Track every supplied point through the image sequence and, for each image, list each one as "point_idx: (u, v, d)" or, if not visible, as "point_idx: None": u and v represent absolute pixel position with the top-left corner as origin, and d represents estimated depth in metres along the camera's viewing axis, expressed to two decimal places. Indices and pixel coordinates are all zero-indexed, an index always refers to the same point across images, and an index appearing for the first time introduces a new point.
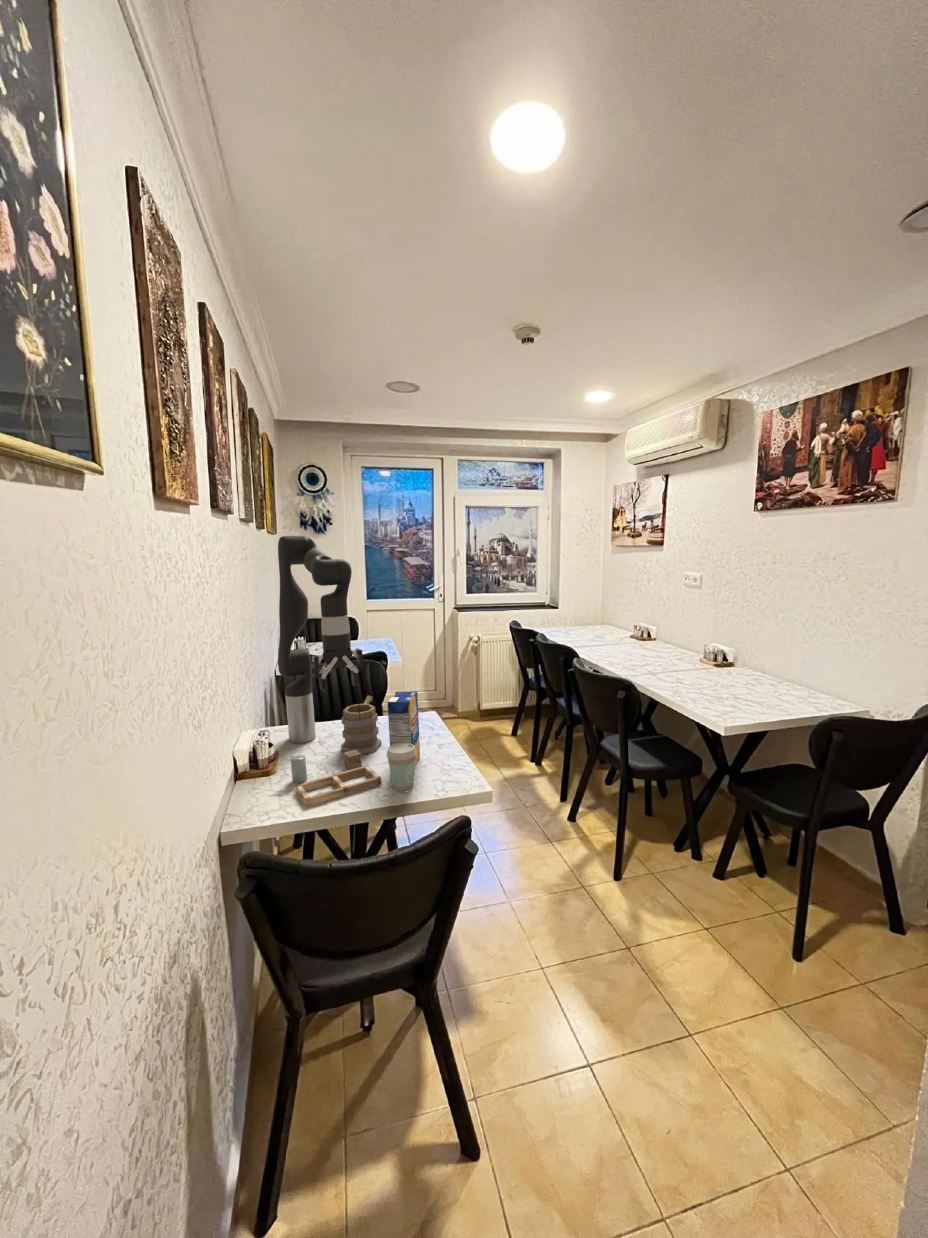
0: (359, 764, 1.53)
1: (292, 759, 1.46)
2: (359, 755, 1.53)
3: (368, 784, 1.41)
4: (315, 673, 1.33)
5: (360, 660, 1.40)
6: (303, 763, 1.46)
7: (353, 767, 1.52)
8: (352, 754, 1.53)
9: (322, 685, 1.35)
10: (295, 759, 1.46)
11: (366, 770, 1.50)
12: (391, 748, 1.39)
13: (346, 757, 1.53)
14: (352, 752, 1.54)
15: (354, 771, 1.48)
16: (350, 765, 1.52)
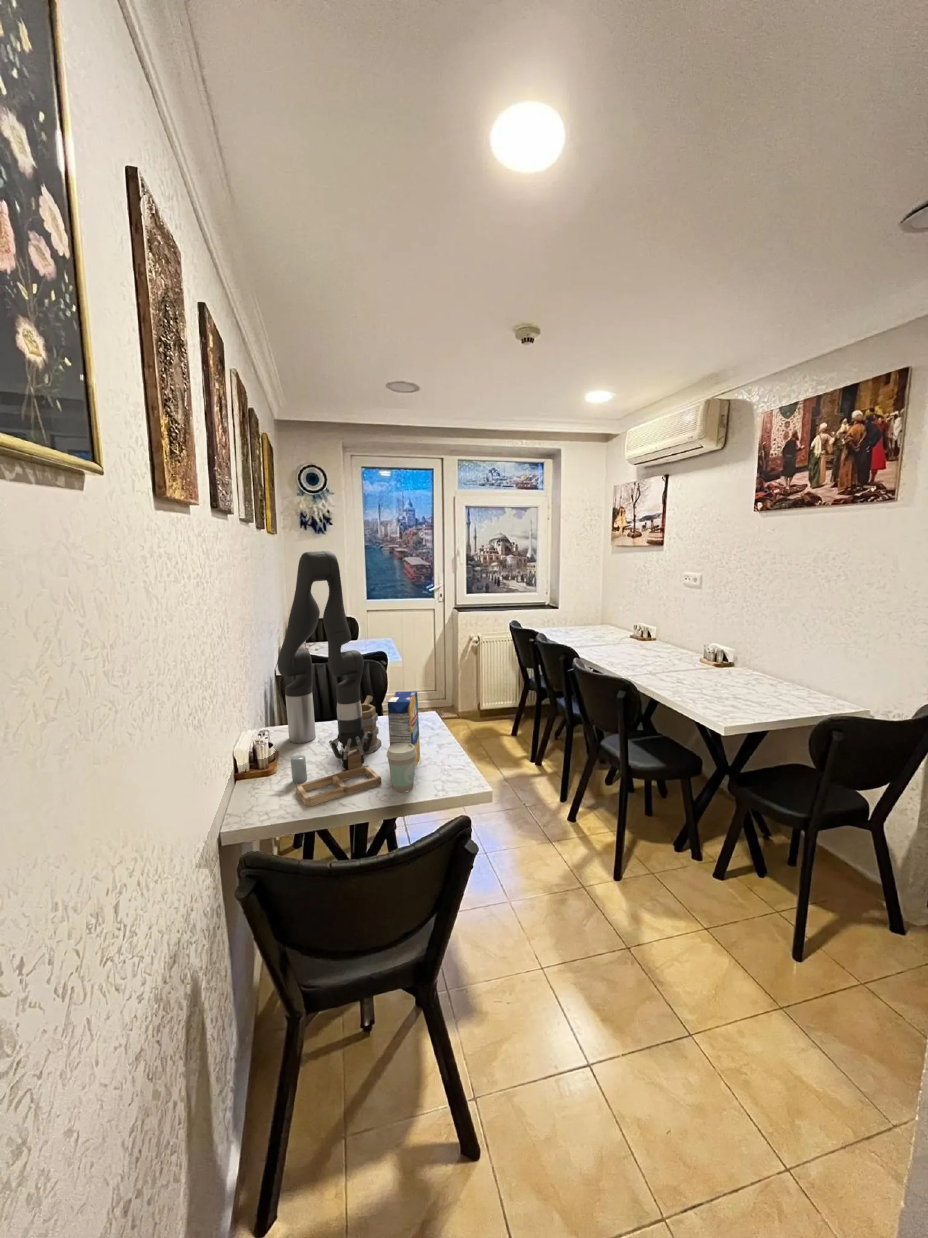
0: (359, 764, 1.54)
1: (292, 759, 1.46)
2: (359, 755, 1.53)
3: (368, 784, 1.41)
4: (337, 756, 1.50)
5: (368, 742, 1.55)
6: (303, 763, 1.46)
7: (353, 767, 1.52)
8: (352, 754, 1.53)
9: (344, 765, 1.52)
10: (295, 758, 1.46)
11: (366, 770, 1.50)
12: (391, 748, 1.39)
13: None
14: (352, 752, 1.54)
15: (354, 771, 1.48)
16: (350, 765, 1.52)
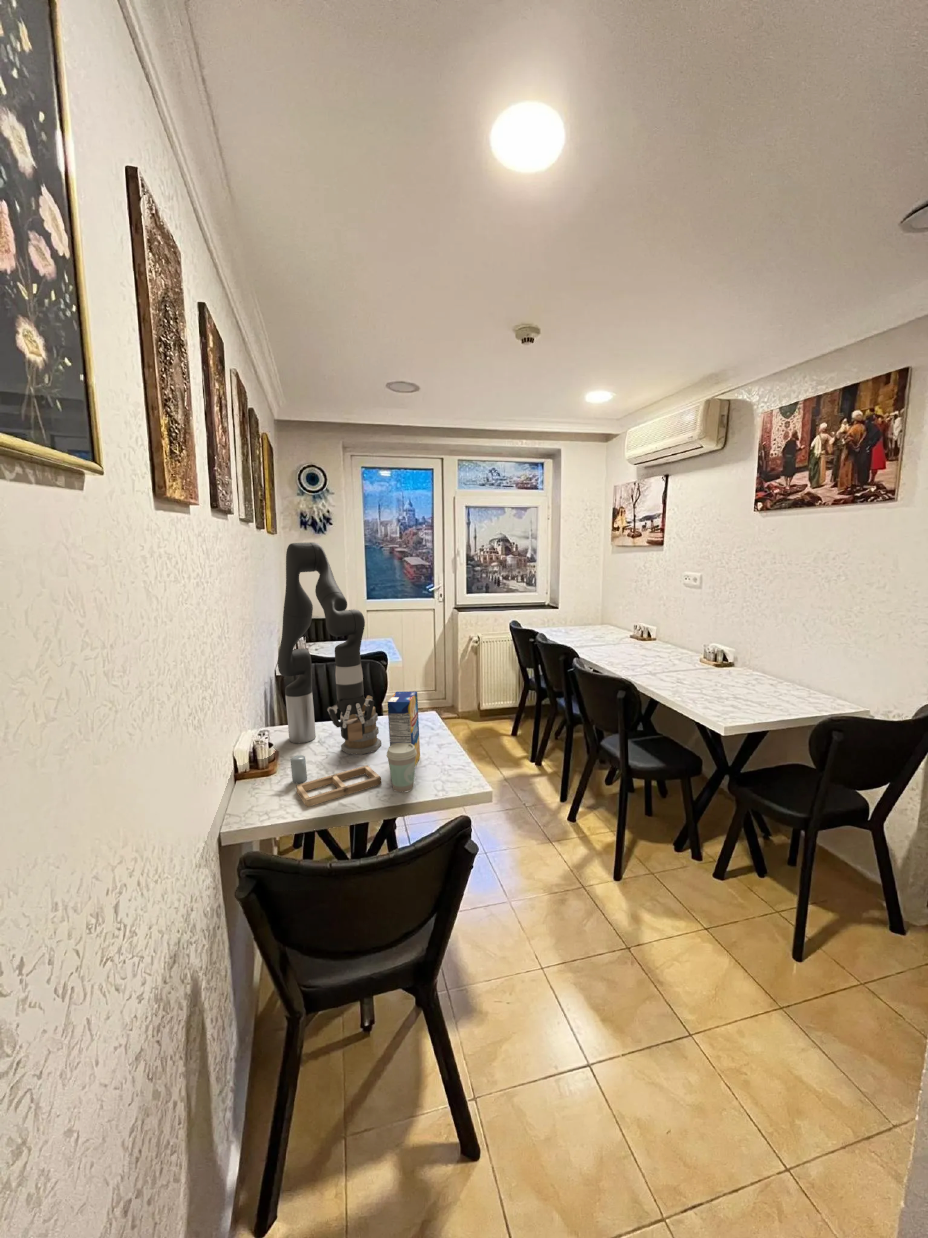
0: (360, 733, 1.42)
1: (292, 759, 1.46)
2: (360, 723, 1.41)
3: (368, 784, 1.41)
4: (336, 724, 1.38)
5: (369, 710, 1.43)
6: (302, 763, 1.46)
7: (353, 736, 1.41)
8: (352, 722, 1.41)
9: (343, 734, 1.40)
10: (295, 759, 1.46)
11: (366, 770, 1.50)
12: (391, 748, 1.39)
13: None
14: (352, 721, 1.42)
15: (354, 771, 1.48)
16: (350, 734, 1.40)
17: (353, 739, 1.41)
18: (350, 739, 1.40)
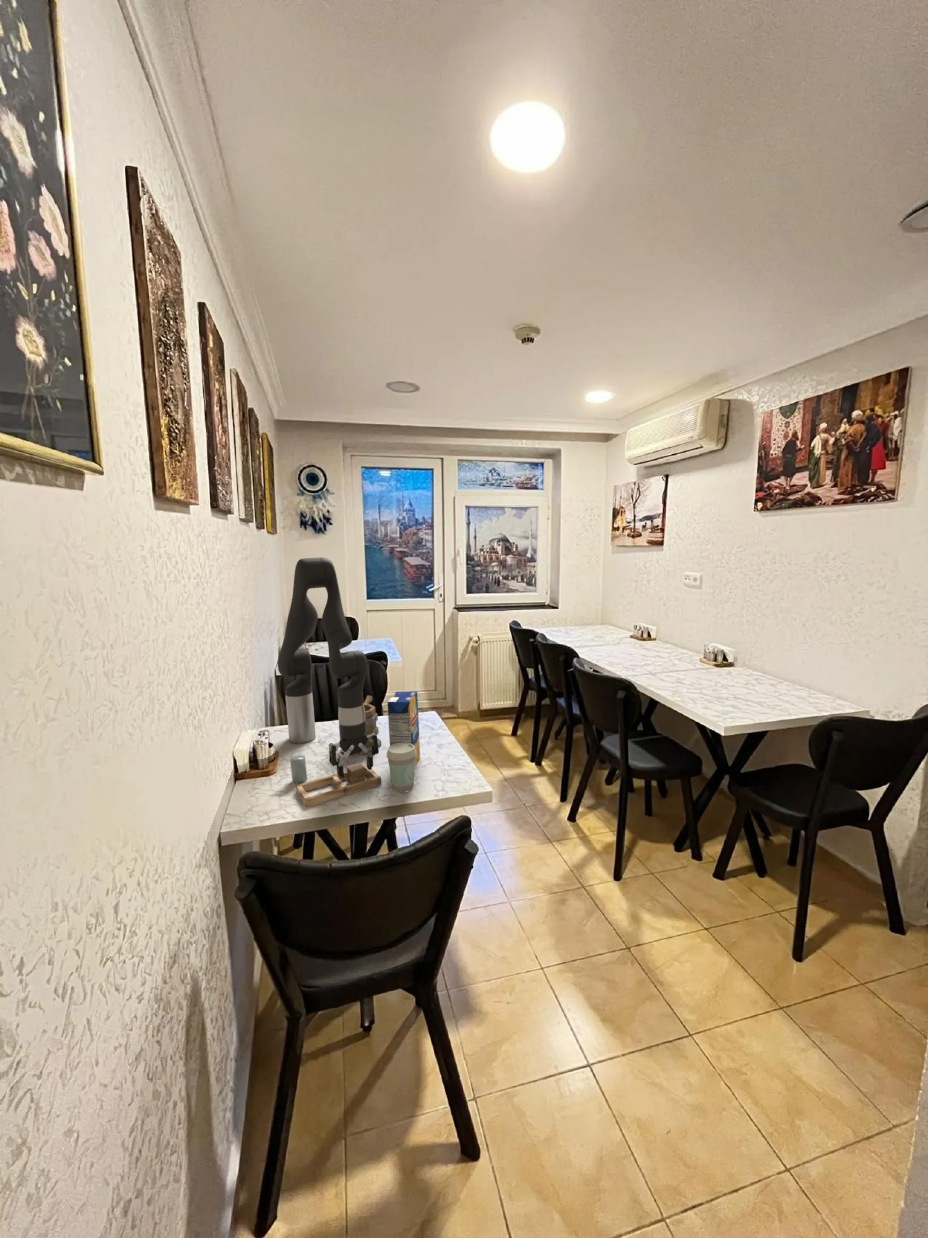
0: (363, 779, 1.44)
1: (292, 759, 1.46)
2: (363, 769, 1.43)
3: (368, 784, 1.41)
4: (332, 762, 1.39)
5: (375, 745, 1.46)
6: (302, 763, 1.46)
7: (356, 782, 1.43)
8: (355, 768, 1.43)
9: (339, 772, 1.41)
10: (295, 759, 1.46)
11: (366, 770, 1.50)
12: (391, 748, 1.39)
13: (349, 771, 1.43)
14: (355, 766, 1.44)
15: None
16: (353, 780, 1.42)
17: None
18: None
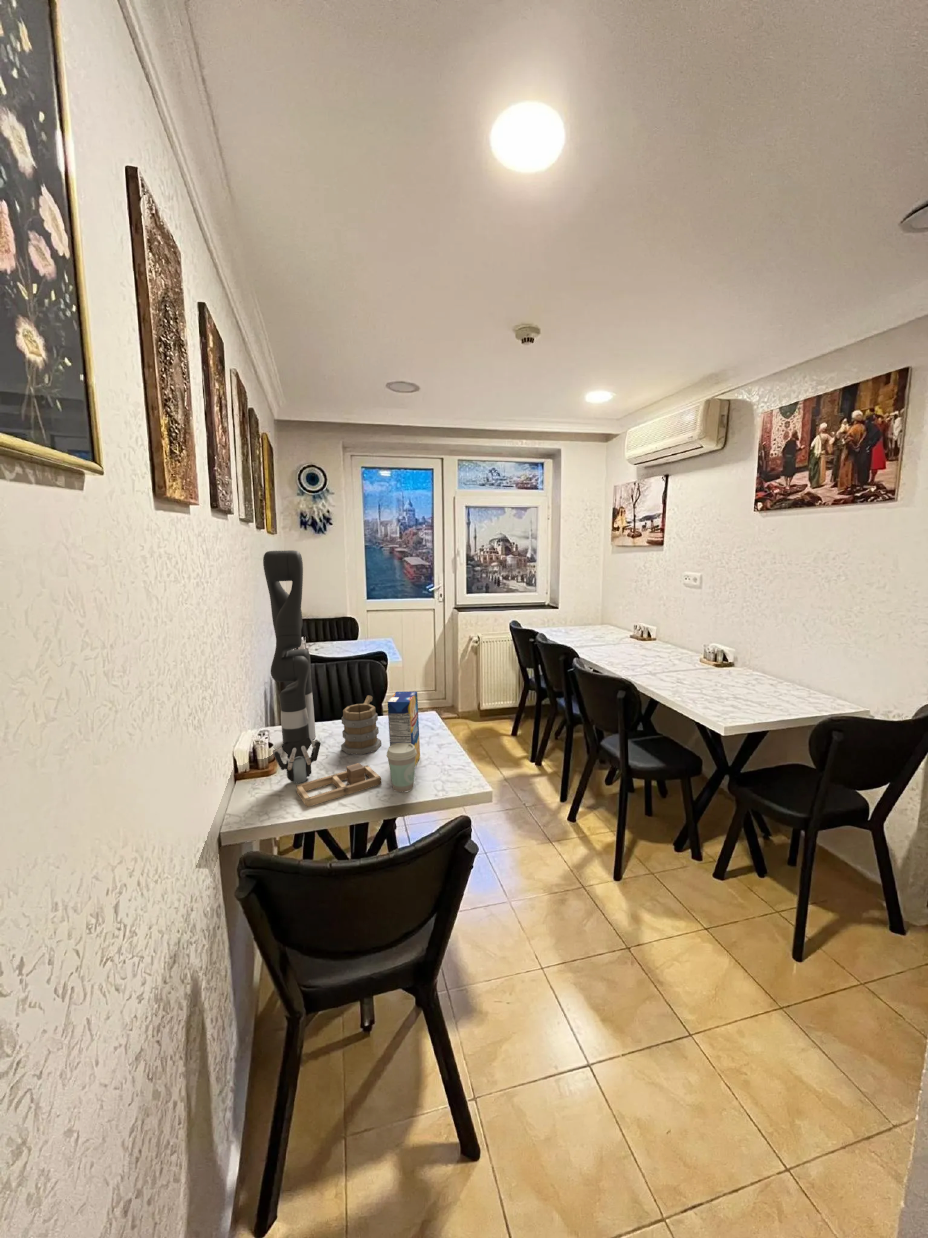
0: (363, 779, 1.44)
1: None
2: (363, 769, 1.43)
3: (368, 784, 1.41)
4: (281, 766, 1.43)
5: (316, 752, 1.48)
6: (303, 762, 1.46)
7: (356, 782, 1.43)
8: (355, 768, 1.43)
9: (288, 775, 1.45)
10: (295, 758, 1.46)
11: (366, 770, 1.50)
12: (391, 748, 1.39)
13: (349, 771, 1.43)
14: (355, 766, 1.44)
15: None
16: (353, 780, 1.42)
17: None
18: None
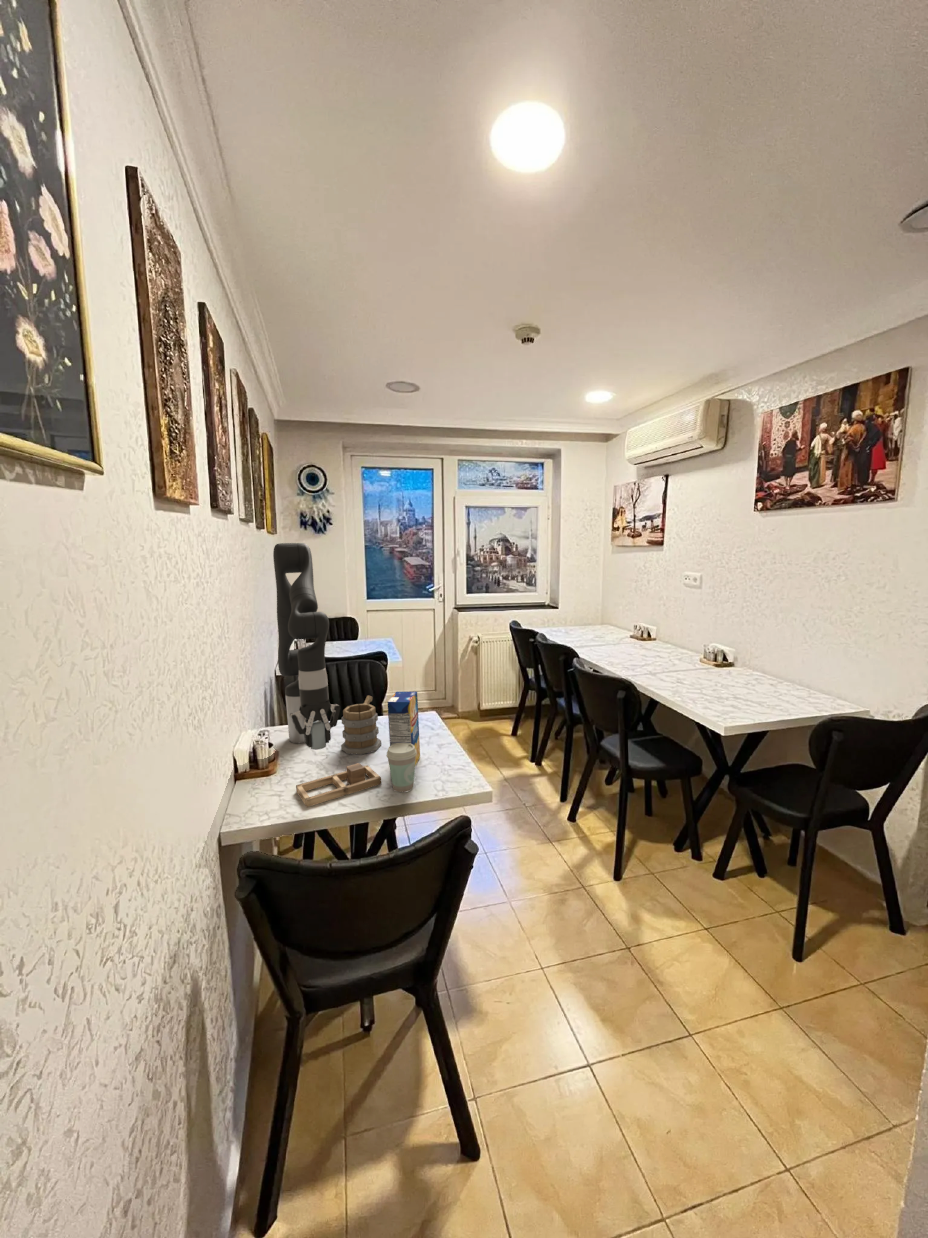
0: (363, 779, 1.44)
1: None
2: (363, 769, 1.43)
3: (368, 784, 1.41)
4: (299, 730, 1.33)
5: (335, 716, 1.38)
6: (322, 727, 1.36)
7: (356, 782, 1.43)
8: (355, 768, 1.43)
9: (307, 741, 1.35)
10: (313, 723, 1.36)
11: (366, 770, 1.50)
12: (391, 748, 1.39)
13: (349, 771, 1.43)
14: (355, 766, 1.44)
15: None
16: (353, 780, 1.42)
17: None
18: None
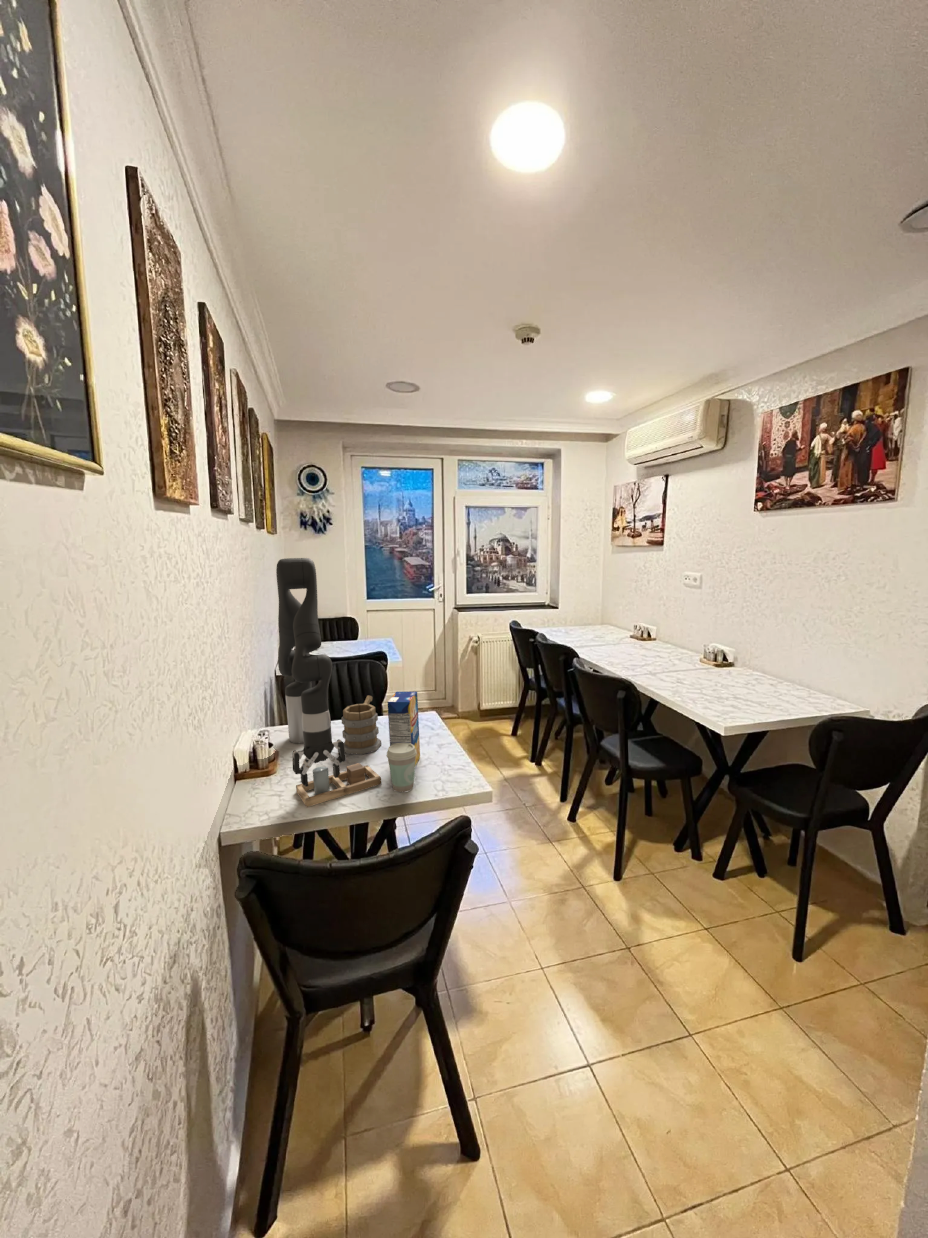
0: (363, 779, 1.44)
1: (314, 771, 1.37)
2: (363, 769, 1.43)
3: (368, 784, 1.41)
4: (296, 770, 1.33)
5: (341, 752, 1.40)
6: (326, 774, 1.38)
7: (356, 782, 1.43)
8: (355, 768, 1.43)
9: (303, 780, 1.35)
10: (317, 770, 1.38)
11: (366, 770, 1.50)
12: (391, 748, 1.39)
13: (349, 771, 1.43)
14: (355, 766, 1.44)
15: None
16: (353, 780, 1.42)
17: None
18: None
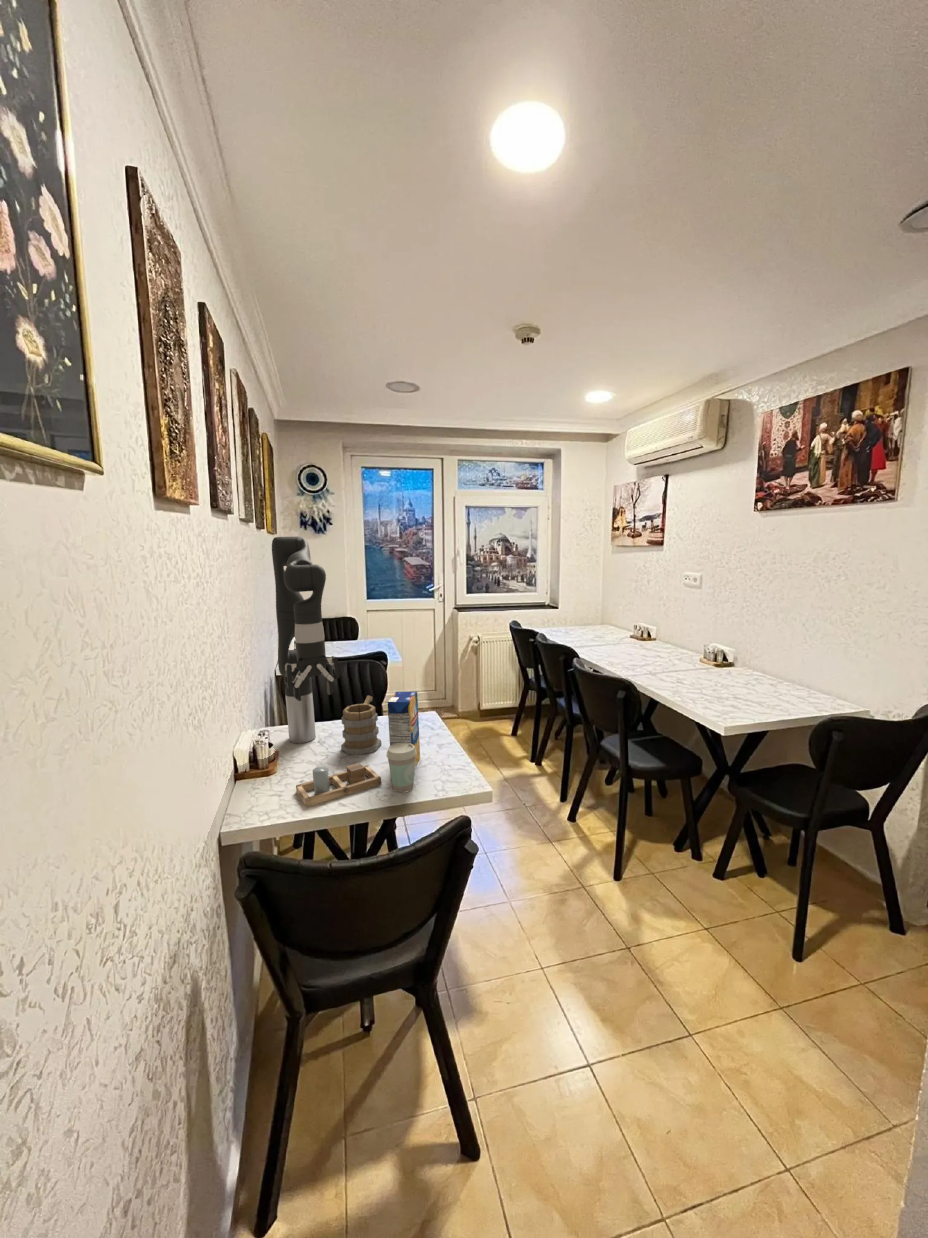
0: (363, 779, 1.44)
1: (314, 771, 1.37)
2: (363, 769, 1.43)
3: (368, 784, 1.41)
4: (288, 682, 1.30)
5: (336, 668, 1.36)
6: (326, 775, 1.37)
7: (356, 782, 1.43)
8: (355, 768, 1.43)
9: (296, 694, 1.32)
10: (317, 770, 1.38)
11: (366, 770, 1.50)
12: (391, 748, 1.39)
13: (349, 771, 1.43)
14: (355, 766, 1.44)
15: None
16: (353, 780, 1.42)
17: None
18: None
